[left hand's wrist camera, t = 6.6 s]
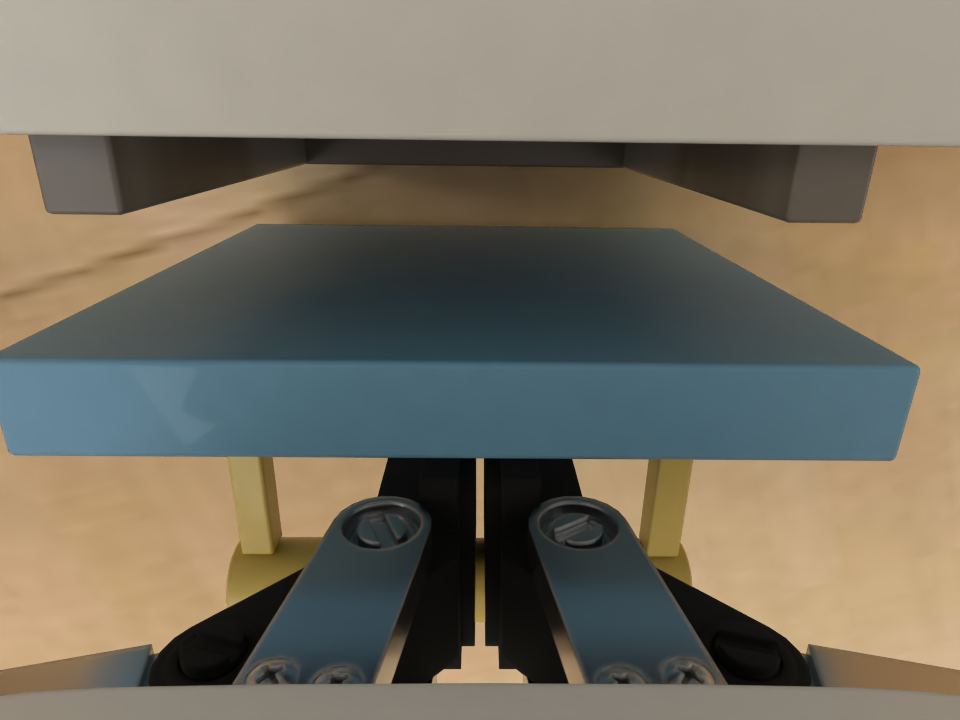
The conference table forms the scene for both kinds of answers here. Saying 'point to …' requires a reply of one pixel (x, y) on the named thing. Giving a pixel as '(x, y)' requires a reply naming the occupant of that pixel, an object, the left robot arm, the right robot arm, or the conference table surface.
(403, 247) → the drawer
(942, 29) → the cabinet
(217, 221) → the conference table surface
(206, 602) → the conference table surface
